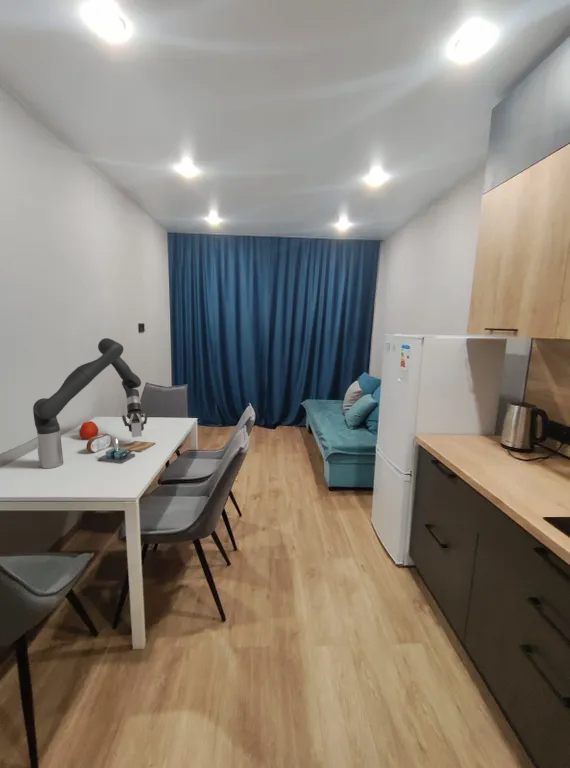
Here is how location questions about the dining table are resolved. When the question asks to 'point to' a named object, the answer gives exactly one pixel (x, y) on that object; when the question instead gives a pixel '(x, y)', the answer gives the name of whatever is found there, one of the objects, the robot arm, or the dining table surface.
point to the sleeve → (136, 428)
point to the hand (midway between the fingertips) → (136, 430)
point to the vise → (116, 454)
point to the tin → (99, 442)
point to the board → (137, 446)
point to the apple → (88, 430)
